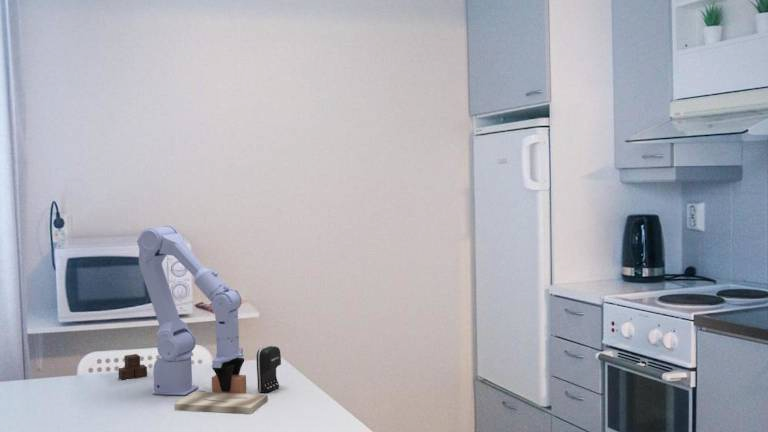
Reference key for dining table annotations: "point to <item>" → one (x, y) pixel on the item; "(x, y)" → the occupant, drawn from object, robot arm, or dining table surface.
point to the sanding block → (236, 384)
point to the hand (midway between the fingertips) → (229, 388)
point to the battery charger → (268, 368)
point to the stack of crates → (132, 368)
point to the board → (221, 402)
